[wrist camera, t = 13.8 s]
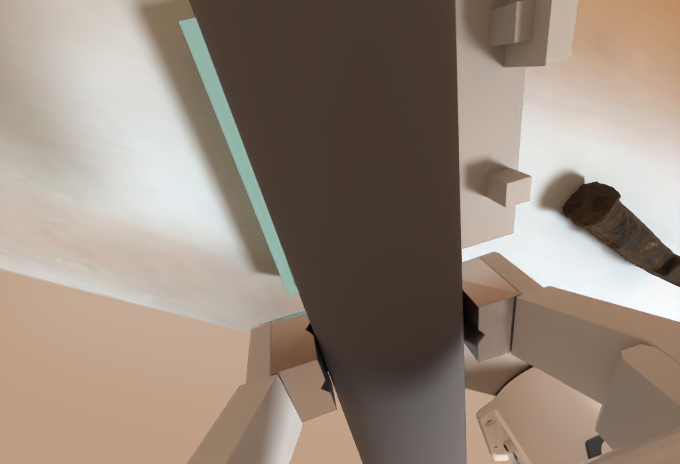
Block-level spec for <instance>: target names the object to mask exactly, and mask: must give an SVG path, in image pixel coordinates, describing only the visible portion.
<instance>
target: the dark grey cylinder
mask: <svg viewBox="0 0 680 464" xmlns="http://www.w3.org/2000/svg"><path fill="white" fill-rule="evenodd" d="M189 1H190V4H191V6H192V9H193V12H194V14H195V17H196V20H197V22H198V25H199V28H200V30H201V33H202V36H203V38H204V41H205V44H206V46H207V49H208V52H209V54H210V57H211V60H212V62H213V65H214V68H215V70H216V73H217V76H218V78H219V81H220V84H221V86H222V89H223V92H224V94H225V97H226V100H227V102H228V105H229V108H230V110H231V113H232V116H233V118H234V121H235V124H236V126H237V129H238V132H239V134H240V137H241V140H242V142H243V145H244V148H245V150H246V153H247V156H248V158H249V161H250V164H251V166H252V169H253V172H254V174H255V177H256V180H257V182H258V185H259V188H260V190H261V193H262V196H263V198H264V201H265V204H266V206H267V209H268V212H269V214H270V217H271V220H272V222H273V225H274V228H275V230H276V233H277V236H278V238H279V241H280V244H281V246H282V249H283V252H284V254H285V257H286V260H287V262H288V265H289V268H290V270H291V273H292V276H293V278H294V281H295V284H296V286H297V289H298V292H299V294H300V297H301V300H302V302H303V305H304V308H305V310H306V313H307V316H308V318H309V321H310V324H311V326H312V329H313V332H314V334H315V337H316V340H317V342H318V345H319V348H320V350H321V353H322V356H323V358H324V361H325V364H326V366H327V369H328V372H329V374H330V377H331V380H332V382H333V385H334V388H335V390H336V393H337V396H338V398H339V401H340V404H341V406H342V409H343V412H344V414H345V417H346V420H347V422H348V425H349V428H350V430H351V433H352V436H353V438H354V441H355V444H356V446H357V449H358V451H359V454H360V457H361V460H362V462H363V464H467V463H466V462H467V461H466V420H465V376H464V335H463V293H462V251H461V209H460V167H459V125H458V84H457V42H456V0H189Z"/></svg>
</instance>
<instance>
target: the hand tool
mask: <svg viewBox="0 0 680 464" xmlns="http://www.w3.org/2000/svg"><path fill="white" fill-rule="evenodd" d="M620 197H621V196H620V194H619V192H618V191H616V190H615V189H614V188H613V187H610V186H608V185H605V184H600V183H598V182H592V183H589V184H583V185H582V186H581V187H580V188H579V189H578V190H577V191H576V192H575V193H574V194H573V195H572V196H571V197H570V199H569V200H568V201H567V202H566V204H565V206H564V207H563V213H564V214H565V216H566V217H568V218H571V219H572V221H573V223H575V224H576V225H578V226H582V227H586V228H587V229H588V230H589V231H590V232H591V233H593V234H594V235H595V236H596V237H598V238H599V239H600V240H603V241H604V242H606V243H607V244H608V245H609V246H610V247H612V248H614V249H615V250H617V251H618V252H619V253H620V254H622V255H623V256H625V258H626V259H627V260H629V261H630V262H632V263H633V264H635V265H636V266H638V267H640V268H642V269H644V270H645V271H647V272H648V273H650V274H652V275H655V276H657V277H659V278H661V279H664V280H666V281H668V282H670V283H672V284H674V285H676V286H679V287H680V256H678V255H676V254H674V253H673V252H672V251H671V250H670V249H669V248H668V247H666V246H665V245H664V244H663V243H662V242H661V241H660V240H659V239H658V238H657V237H656V236H655V235H654V234H653V232H652V231H651V230H650V229H649V228H648V227H647V226H646V225H645V224H644V223H642V222H641V221H640V220H639V219H638V218H637V217H636V216H635V215H634V214H633V213H632V212H631V211H630V210H628V209H627V208H626V207H625V206H624V205H623V204H622V203H621V202H620V201H619V199H620Z"/></svg>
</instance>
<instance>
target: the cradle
mask: <svg viewBox="0 0 680 464" xmlns="http://www.w3.org/2000/svg"><path fill="white" fill-rule="evenodd" d="M577 5H578V0H456V42H457V84H458V125H459V167H460V209H461V249H463V248H467V247H470V246H473V245H476V244H480V243H483V242H486V241H490V240H493V239H496V238H499V237H503V236H506V235H509V234H512V233H513V231H514V217H515V205H517V204H520V203H523V202H527V201H529V200H530V190H531V179H532V176H530V175H527V174H524V173H522V172H519V171H518V161H519V147H520V133H521V119H522V105H523V91H524V77H525V67H528V66H546V65H550V64H554V63H558V62H561V61H565V60H569V59H570V57H571V50H572V42H573V35H574V27H575V20H576V12H577Z"/></svg>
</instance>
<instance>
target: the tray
mask: <svg viewBox="0 0 680 464" xmlns="http://www.w3.org/2000/svg"><path fill="white" fill-rule="evenodd" d="M179 24H180V26H181V29H182V31H183V34H184V36H185V39H186V41H187V44H188V46H189V49H190V51H191V54H192V56H193V59H194V61H195V64H196V66H197V69H198V71H199V74H200V76H201V79H202V81H203V84H204V86H205V89H206V91H207V94H208V96H209V99H210V101H211V104H212V106H213V109H214V111H215V114H216V116H217V119H218V121H219V124H220V126H221V129H222V131H223V134H224V136H225V139H226V141H227V144H228V146H229V149H230V151H231V154H232V156H233V159H234V161H235V164H236V166H237V169H238V171H239V174H240V176H241V179H242V181H243V184H244V186H245V189H246V191H247V194H248V196H249V199H250V201H251V204H252V206H253V209H254V211H255V214H256V216H257V219H258V221H259V224H260V226H261V229H262V231H263V234H264V236H265V239H266V241H267V244H268V246H269V249H270V251H271V254H272V256H273V259H274V261H275V264H276V266H277V269H278V271H279V274H280V276H281V279H282V281H283V284H284V286H285V289H286V291H287V294H288V296H290V295H293V294H297V293H299V292H298V289H297V286H296V284H295V281H294V278H293V276H292V273H291V270H290V268H289V265H288V262H287V260H286V257H285V254H284V252H283V249H282V246H281V244H280V241H279V238H278V236H277V233H276V230H275V228H274V225H273V222H272V220H271V217H270V214H269V212H268V209H267V206H266V204H265V201H264V198H263V196H262V193H261V190H260V188H259V185H258V182H257V180H256V177H255V174H254V172H253V169H252V166H251V164H250V161H249V158H248V156H247V153H246V150H245V148H244V145H243V142H242V140H241V137H240V134H239V132H238V129H237V126H236V124H235V121H234V118H233V116H232V113H231V110H230V108H229V105H228V102H227V100H226V97H225V94H224V92H223V89H222V86H221V84H220V81H219V78H218V76H217V73H216V70H215V68H214V65H213V62H212V60H211V57H210V54H209V52H208V49H207V46H206V44H205V41H204V38H203V36H202V33H201V30H200V28H199V25H198V22H197V20H196V17H195V18H190V19H186V20H182V21H179Z"/></svg>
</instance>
